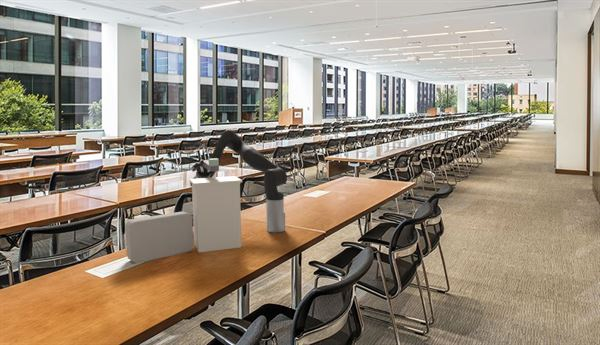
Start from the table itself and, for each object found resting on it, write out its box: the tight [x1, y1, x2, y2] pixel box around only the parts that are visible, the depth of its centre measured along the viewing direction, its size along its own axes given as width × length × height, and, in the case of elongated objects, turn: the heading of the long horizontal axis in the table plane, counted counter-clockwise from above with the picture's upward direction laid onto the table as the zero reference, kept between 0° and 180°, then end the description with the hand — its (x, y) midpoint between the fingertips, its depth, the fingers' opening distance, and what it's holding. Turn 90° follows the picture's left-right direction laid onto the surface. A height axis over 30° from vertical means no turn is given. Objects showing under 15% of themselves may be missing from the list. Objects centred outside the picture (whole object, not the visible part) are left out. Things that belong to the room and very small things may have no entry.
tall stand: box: [189, 175, 243, 253], centre depth 213 cm, size 22×14×32 cm, turn 111°
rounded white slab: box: [124, 211, 194, 264], centre depth 201 cm, size 29×8×18 cm, turn 129°
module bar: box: [202, 158, 220, 172], centre depth 221 cm, size 4×24×6 cm, turn 21°
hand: (207, 161), depth 228 cm, fingers closed on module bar, 4 cm apart
